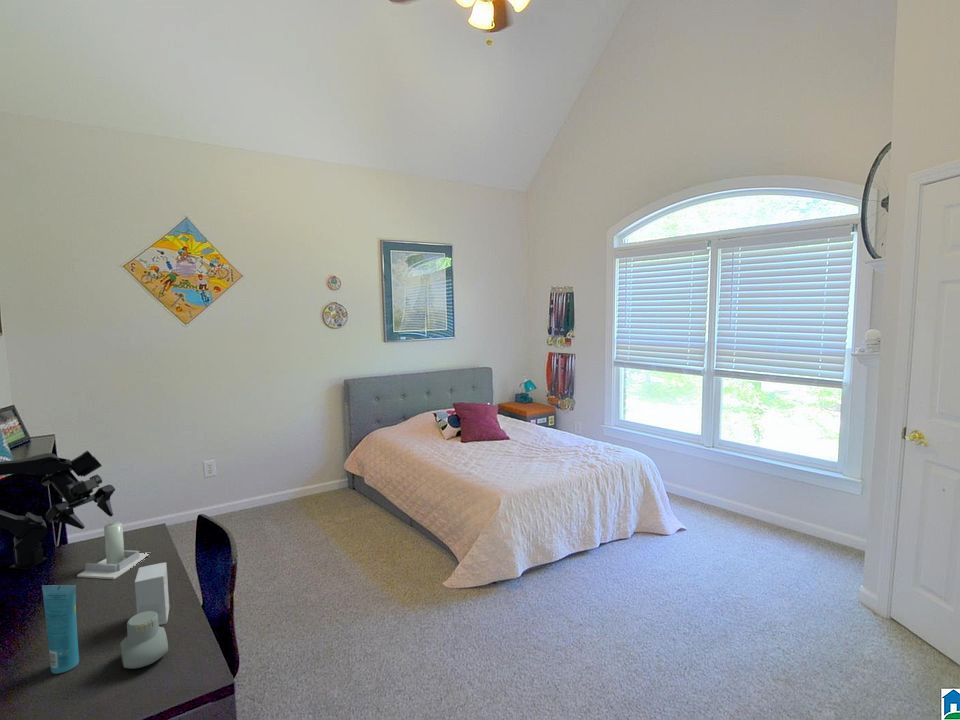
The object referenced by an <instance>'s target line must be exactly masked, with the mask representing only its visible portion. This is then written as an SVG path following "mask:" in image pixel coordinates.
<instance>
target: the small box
mask: <svg viewBox="0 0 960 720" xmlns="http://www.w3.org/2000/svg"><path fill="white" fill-rule="evenodd" d="M133 582H134V592H135V606H136V608H135V609H136V614H139V613H142V612H146V611H154V612H156V613H157V614H158V625H159V626H161V625H166V624H167V623H168V620H169V612H170V600H169V599H170V597H169V583H168V582H169V581H168V568H167V562H159V563H156V564H150V565H145V566H140V567H138V569H137V571H136V577H135V579H134V581H133Z"/></svg>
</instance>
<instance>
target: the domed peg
mask: <svg viewBox="0 0 960 720" xmlns="http://www.w3.org/2000/svg"><path fill="white" fill-rule="evenodd" d="M123 527H124V526H123V522H121V521H115V522H112V523H108V524H106V525H104V526H103V532H104V546H105V548H104V549H105V558H106V562H107V564H118V563H120V562H122V561H123V560H125V556H124V550H125V544H124V543H125V542H124V531H123V530H124V529H123Z"/></svg>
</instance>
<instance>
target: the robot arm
mask: <svg viewBox="0 0 960 720" xmlns="http://www.w3.org/2000/svg"><path fill="white" fill-rule="evenodd" d="M101 467H103V466H102V464H101V462H100V461H99V460H98V459H97V458H96V457H95V456H94V455H92V454H91V452H89V450H86V451H84V452H83V453H82V454H80V455H78V456H77V457H75V458H74V459H72V460H71V459H70V458H62V457H59V456H58V455H56V454H55V453H52V452H51V453H50V452H47V453H41V454H38V455H33V456H29V457H27V458H26V457H25V458H22V459H14V460H4V461H2V460H1V461H0V476H8V475H19V474H27V475H35V476H36V475H38V476H39V475H40V476H42V475H43V476H42V479H41V481H40V484H41V485H42V486H45V487H47V486H48V485H49V486H50V484H51V485H52V486H53V487H54V489H55V490H56V491H57V492H58V493H59V495H58V498H59V499H60V500H61V499H64V500H63V501H60V502H58V503H55V504H53V505H51V507H50V508H49V509H48V510H47V512H46V513H45V519H46V520H47V521H48V523H53V522H54V523H63V524H66V525H68V526H72V527H75V528H78V529H81V530H83V529H85V525H84V523H83V522H82V520H81V519H80V518H79V517H78V516H77V515H76V514H75V510H74V509H75V508H78V507H80V506H82V505H85V504H88V503H91V502H94V503H97V504H96V506H97V507H98V508H99V509H100V510H101V511H103V513H105V514H106V515H107V516H109V517H113V516H114V513H113V508H112V505H111V498H112V497H111V496H113V494H114V492H115V491H116V488H115V487H114V486H113V485H112V484H107V485H104V486H102V487H100V484H102V483H103V479H102V477H101V476H100V475H98V474H94V475H92V476H90V477H89V479H87V480H79V479H78V478H77V477H81V478H82V477H86V476H89V475H90V474H92V473H94V472H95V471H96V470H98V469H100V468H101ZM72 471H73V472H72ZM74 474H75V475H76V476H77V477H76V476H75V475H74ZM96 488H98V489H97V490H96V491H95V493H94V494H92V493H93V492H94V489H96ZM0 528H2V529H6V530H8V531H9V532H10V533H12V534H14V535H15V536H14V537H13V543H14V546H13V549H12V550H13V559H14V560H13V561H14V564H12V565H10V566H9V569H15V570H16V569H17V570H28V569H31V568H33V567H35V566H37V565H39V564H41V563H42V562H45V561H47V560H48V557H44V553H43V547H42V542H41V540H43V539H44V538H45V537H46V536H47V534H48V528H47V524H46V521H45V520H44V519H43V517H42V516H41V515H35V514H33V513H32V512H29V511H28V512H26V514H25V515H17V514H13V513H10V512H7V511H5V510H1V509H0Z"/></svg>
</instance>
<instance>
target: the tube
mask: <svg viewBox="0 0 960 720" xmlns="http://www.w3.org/2000/svg"><path fill="white" fill-rule="evenodd" d="M76 588H77V585H71V584H70V585H67V584H65V585H63V584H61V585H54V584H51V585H50V584H49V585H45V584H43V585H41V590H42V597H43V607H44V615H45V624H46V632H47V633H46V634H47V641H48V642H47V643H48V653H49V655H48V656H49V664H50V672H51V673H52V674H56V675H58V674H62V673H66V672H68V671H70V670H72V669H73V668H75V667H77V666H78V664H79V663H80V653H79V641H78V640H79V639H78V627H77V623H78V622H77V608H76V606H77V605H76V604H77V603H76V602H77V601H76V599H77V598H76Z"/></svg>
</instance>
